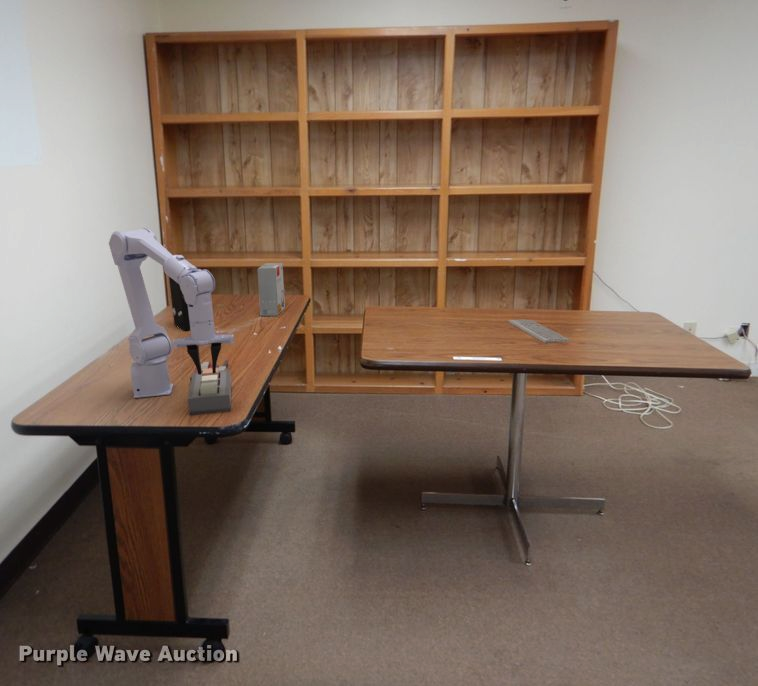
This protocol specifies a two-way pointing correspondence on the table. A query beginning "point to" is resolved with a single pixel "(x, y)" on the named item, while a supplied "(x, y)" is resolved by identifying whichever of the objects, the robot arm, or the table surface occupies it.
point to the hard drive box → (271, 289)
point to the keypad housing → (213, 401)
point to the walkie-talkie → (208, 365)
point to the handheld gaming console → (179, 306)
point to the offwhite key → (210, 379)
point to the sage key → (208, 388)
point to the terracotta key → (210, 372)
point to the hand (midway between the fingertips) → (207, 372)
